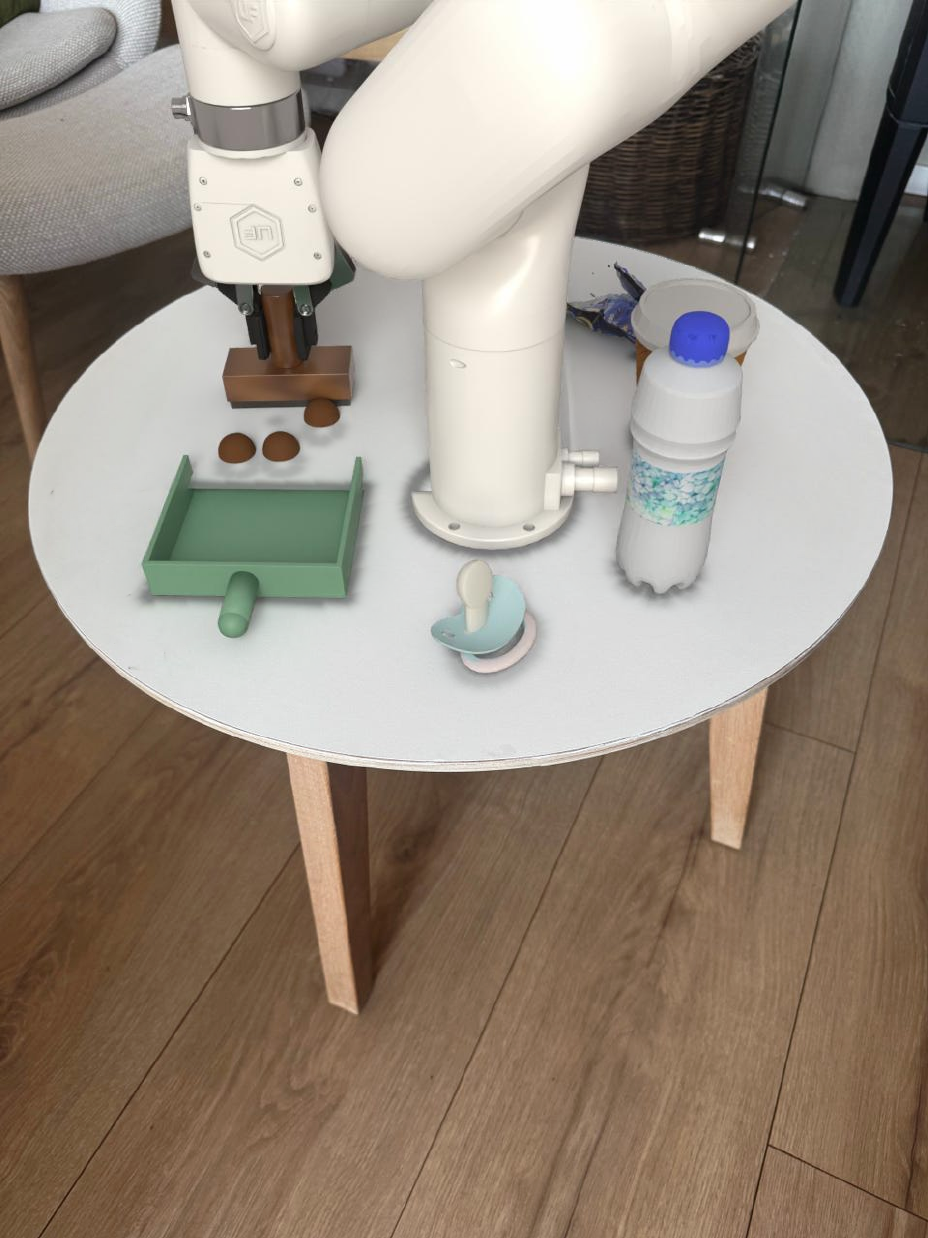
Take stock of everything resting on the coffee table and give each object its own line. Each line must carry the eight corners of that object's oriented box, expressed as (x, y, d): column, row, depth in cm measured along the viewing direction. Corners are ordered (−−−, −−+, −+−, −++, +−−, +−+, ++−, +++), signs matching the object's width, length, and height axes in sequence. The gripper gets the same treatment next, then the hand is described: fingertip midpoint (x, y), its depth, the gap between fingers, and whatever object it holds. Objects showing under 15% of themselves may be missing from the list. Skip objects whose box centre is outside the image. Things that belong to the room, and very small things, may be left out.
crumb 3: (340, 440, 82) (340, 426, 85) (340, 406, 81) (339, 392, 83) (304, 440, 82) (304, 426, 84) (302, 405, 80) (303, 392, 83)
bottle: (701, 542, 73) (755, 290, 59) (708, 607, 69) (768, 350, 54) (610, 537, 74) (641, 286, 59) (610, 601, 69) (644, 345, 55)
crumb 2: (292, 453, 77) (297, 478, 80) (302, 425, 79) (305, 451, 81) (255, 448, 77) (260, 473, 80) (265, 420, 79) (270, 446, 82)
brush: (356, 385, 87) (344, 272, 79) (353, 414, 84) (340, 300, 76) (237, 387, 87) (214, 275, 79) (230, 417, 84) (205, 303, 76)
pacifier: (555, 627, 68) (484, 589, 70) (563, 561, 63) (486, 523, 65) (492, 695, 64) (419, 652, 66) (496, 629, 59) (417, 586, 61)
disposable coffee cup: (596, 448, 81) (609, 314, 73) (650, 393, 87) (668, 263, 78) (702, 489, 78) (730, 353, 69) (752, 429, 83) (783, 296, 74)
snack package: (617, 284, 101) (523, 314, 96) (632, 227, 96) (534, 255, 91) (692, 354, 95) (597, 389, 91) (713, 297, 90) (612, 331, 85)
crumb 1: (250, 470, 78) (257, 473, 81) (254, 432, 78) (261, 437, 81) (212, 466, 78) (220, 469, 81) (216, 428, 78) (224, 432, 81)
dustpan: (191, 486, 79) (183, 454, 76) (364, 488, 78) (361, 456, 76) (133, 649, 67) (120, 616, 64) (337, 652, 66) (331, 620, 64)
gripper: (118, 136, 66) (178, 374, 80) (359, 138, 66) (379, 378, 79) (148, 95, 72) (200, 326, 85) (371, 97, 71) (388, 329, 84)
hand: (286, 349), depth 82 cm, fingers closed on brush, 2 cm apart
